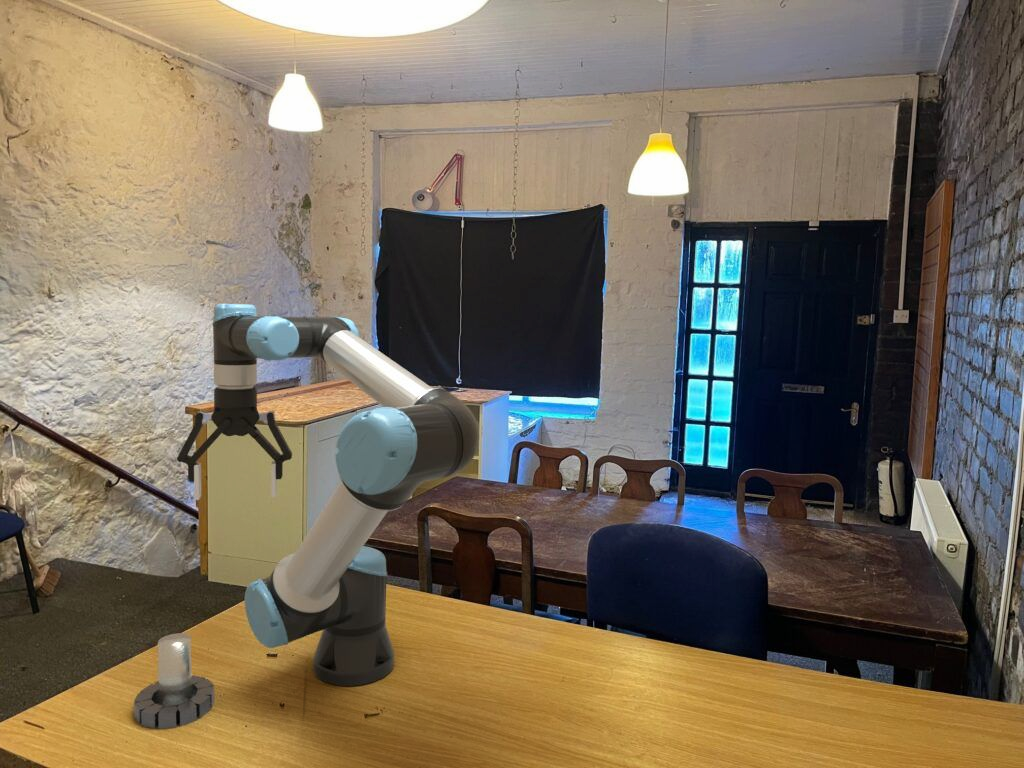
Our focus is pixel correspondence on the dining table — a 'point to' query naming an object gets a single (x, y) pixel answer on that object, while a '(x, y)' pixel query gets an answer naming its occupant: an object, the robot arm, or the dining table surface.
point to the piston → (174, 669)
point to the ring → (172, 715)
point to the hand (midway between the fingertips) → (236, 497)
